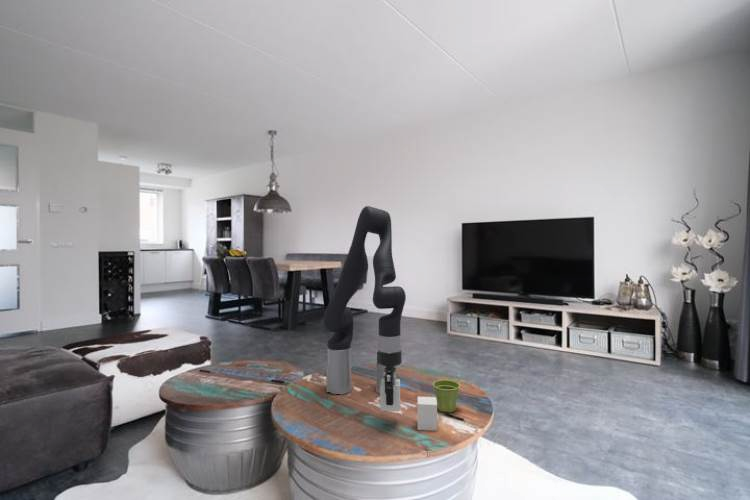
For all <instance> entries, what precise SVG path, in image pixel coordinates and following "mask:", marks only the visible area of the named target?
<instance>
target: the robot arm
mask: <svg viewBox="0 0 750 500" xmlns="http://www.w3.org/2000/svg"><path fill="white" fill-rule="evenodd" d="M392 232H393V231H392V218H391V214H390V213H389V212H388V211H386V210H383V209H380V208H377V207H373V206H370V205H366V206H364V207H363V208H362V209H361V211H360V213H359V215H358V219H357V222H356V225H355V229H354V233H353V237H352V240H351V245H350V247H349V250H348V253H347V255H346V258H345V261H344V262H343V263H344V264H343V266H342V268H341V271H340V275H339V278H338V281H337V284H336V286H335V289H334V292H333V294H332V296H331V299H330V300H329V302H328V305H327V307H326V309H325V311H324V314H323V317H322V323H323V327H324V329H325V330H326V331H328V332H330V333H333V334H332V336H331V337H330V338H329V339H328V340H327V367H326V370H325V372H326V373H325V374H326V375H325V376H326V382H325V383H326V385H325V386H326V390H325V391H326V393H327V392H330V393H329V394H331V393H332V394H331V395H336V394H340V395H346V394H348V393H350V392H351V391H352V346H351V345H352V342H353V338H354V315H353V312H352V310H351V308H350V307H348V306H347V305H348V304H349V302H350V300H351V299H352V298H353V296H354V295H355V294H356V293H357V292H358V290H359V289H360V288H361V287H362V285H363V283H364V281H365V278H366V275H367V273H368V269H369V262H368V256H367V253H366V245H365V243H366V239H367V235H368V233H370V234H374V235H378V237H379V244H378V247H377V248H376V250H375V252H374V255H373V258H372V267H373V274H374V289H373V293H372V302H373V303H372V304H373V305H374V307H375V308H377V309H379V310H387V309H388V310H389V309H392V310H391V312H390V313H388V314H386V315H382V316H380V317H379V319H378V340H377V350H378V351H377V352H378V362H379V364H381V365H384V366H386V368H384V385H385V394H386V405H393V392H394V391H393V386H394V385H395V380H396V377H397V366H400V365H401V364H402V361H403V359H402V358H403V357H402V355H403V354H402V353H403V352H402V350H403V349H402V337H401V320H402V317H403V316H402V315H403V312H404V311H403V310H404V308H405V304H406V299H407V298H406V297H407V295H406V292H405V290H404V288H403V287H401V286H398V285H397V286H396V285H395V286H387V285H389V284H392V283H393V282H394V281H395V280H396V278H397V275H396V269H395V265H394V258H393V251H392V250H393V249H392V248H393V247H392V245H393V238H392ZM395 366H396V368H395ZM387 387H391V389H387Z"/></svg>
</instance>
